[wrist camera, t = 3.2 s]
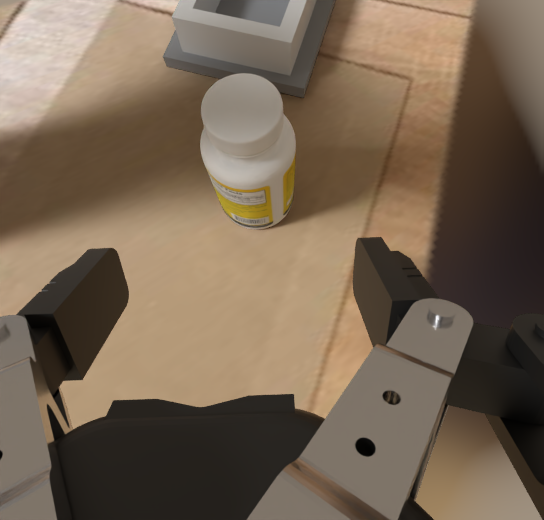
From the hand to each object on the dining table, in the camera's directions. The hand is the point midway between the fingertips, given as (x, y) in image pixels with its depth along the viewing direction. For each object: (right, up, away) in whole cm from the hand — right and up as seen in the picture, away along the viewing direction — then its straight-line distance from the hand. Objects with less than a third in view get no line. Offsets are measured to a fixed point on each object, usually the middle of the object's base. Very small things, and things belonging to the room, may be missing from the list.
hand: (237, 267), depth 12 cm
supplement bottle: (0, +5, +14) cm, 15 cm away
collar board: (0, +20, +18) cm, 27 cm away
